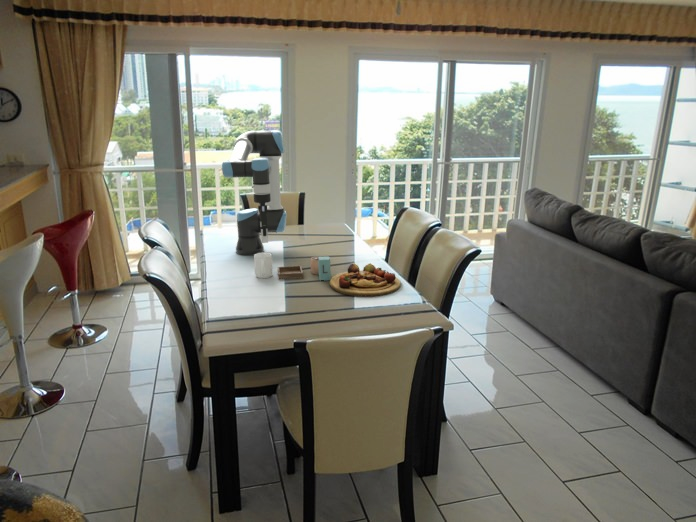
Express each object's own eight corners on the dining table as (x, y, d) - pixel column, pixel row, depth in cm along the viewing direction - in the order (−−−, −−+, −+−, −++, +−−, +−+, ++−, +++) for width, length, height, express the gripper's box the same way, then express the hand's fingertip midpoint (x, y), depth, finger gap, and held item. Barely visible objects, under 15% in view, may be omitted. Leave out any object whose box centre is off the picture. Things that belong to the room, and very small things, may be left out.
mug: (272, 280, 244) (271, 259, 241) (254, 281, 243) (252, 260, 240) (273, 272, 255) (271, 252, 252) (255, 273, 254) (254, 252, 251)
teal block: (318, 277, 248) (318, 256, 245) (329, 276, 249) (328, 256, 246) (320, 280, 243) (319, 260, 240) (330, 280, 244) (330, 259, 241)
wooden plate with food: (349, 303, 217) (350, 284, 214) (318, 280, 244) (318, 263, 241) (414, 291, 231) (415, 273, 229) (377, 271, 258) (378, 254, 256)
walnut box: (277, 271, 256) (277, 267, 255) (301, 270, 258) (301, 265, 257) (278, 279, 245) (278, 274, 245) (303, 277, 247) (303, 272, 246)
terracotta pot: (310, 270, 258) (309, 256, 256) (324, 269, 259) (324, 255, 257) (311, 274, 251) (311, 260, 249) (326, 274, 252) (325, 259, 250)
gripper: (252, 189, 249) (255, 232, 255) (253, 198, 225) (257, 246, 232) (269, 188, 250) (271, 231, 257) (271, 197, 227) (274, 245, 233)
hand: (264, 238), depth 244 cm, fingers open, 13 cm apart
